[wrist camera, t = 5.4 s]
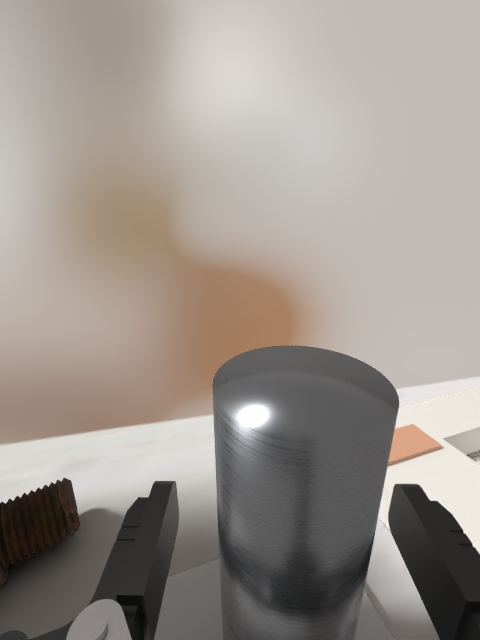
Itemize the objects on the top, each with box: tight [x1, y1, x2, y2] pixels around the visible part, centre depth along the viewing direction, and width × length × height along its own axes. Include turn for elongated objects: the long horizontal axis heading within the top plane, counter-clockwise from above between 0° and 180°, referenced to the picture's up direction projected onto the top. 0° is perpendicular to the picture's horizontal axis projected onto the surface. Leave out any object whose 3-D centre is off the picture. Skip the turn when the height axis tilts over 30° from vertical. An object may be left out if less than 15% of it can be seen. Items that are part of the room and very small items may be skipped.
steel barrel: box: [213, 346, 399, 640], centre depth 10 cm, size 4×4×13 cm
